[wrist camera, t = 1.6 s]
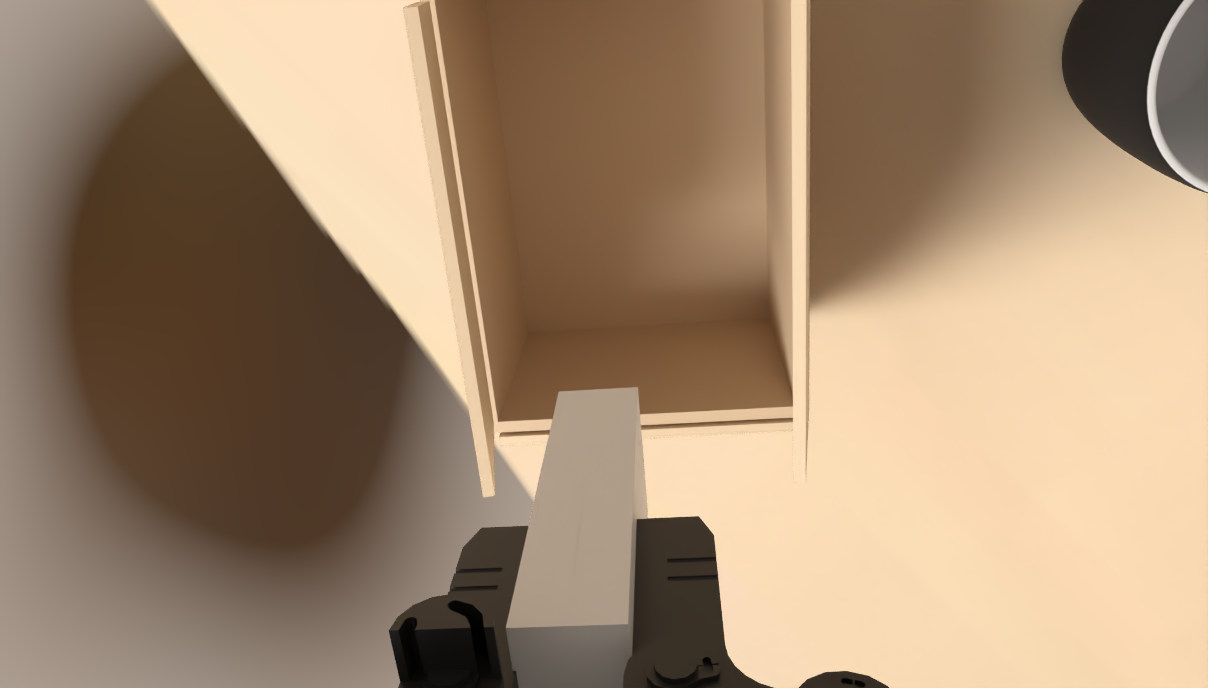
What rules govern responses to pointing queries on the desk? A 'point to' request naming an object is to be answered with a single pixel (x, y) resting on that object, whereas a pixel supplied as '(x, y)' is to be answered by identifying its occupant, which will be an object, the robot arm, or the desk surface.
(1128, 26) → the mug
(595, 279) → the carton
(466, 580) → the robot arm
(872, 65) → the desk surface
